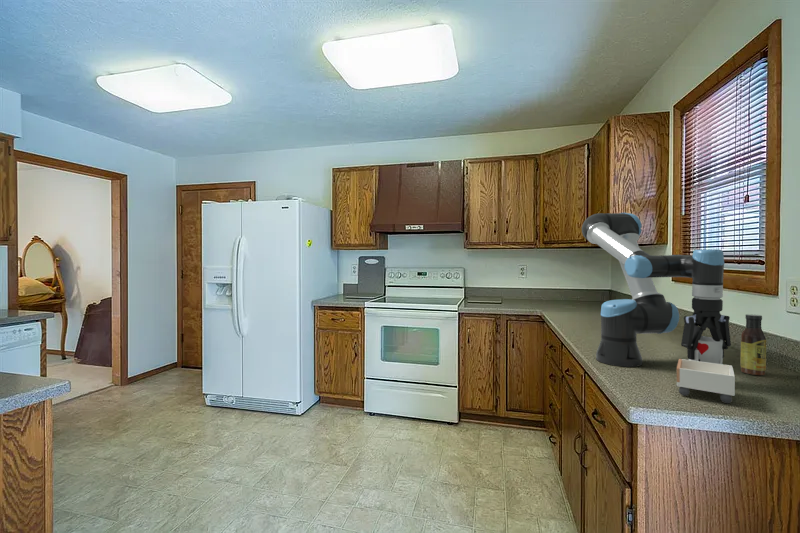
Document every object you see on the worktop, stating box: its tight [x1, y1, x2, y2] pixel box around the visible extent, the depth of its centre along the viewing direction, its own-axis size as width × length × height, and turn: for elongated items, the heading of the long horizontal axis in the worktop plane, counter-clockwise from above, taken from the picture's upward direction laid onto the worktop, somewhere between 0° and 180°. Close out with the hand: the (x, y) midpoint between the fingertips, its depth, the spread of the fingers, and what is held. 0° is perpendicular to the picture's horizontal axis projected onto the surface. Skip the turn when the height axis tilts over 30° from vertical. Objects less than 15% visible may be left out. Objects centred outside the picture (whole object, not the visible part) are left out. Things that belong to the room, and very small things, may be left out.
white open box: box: [676, 358, 736, 404], centre depth 107 cm, size 12×12×8 cm
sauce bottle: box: [739, 313, 767, 376], centre depth 124 cm, size 6×6×20 cm
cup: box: [696, 335, 723, 364], centre depth 118 cm, size 8×8×10 cm
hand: (705, 368), depth 118 cm, fingers closed on cup, 8 cm apart
